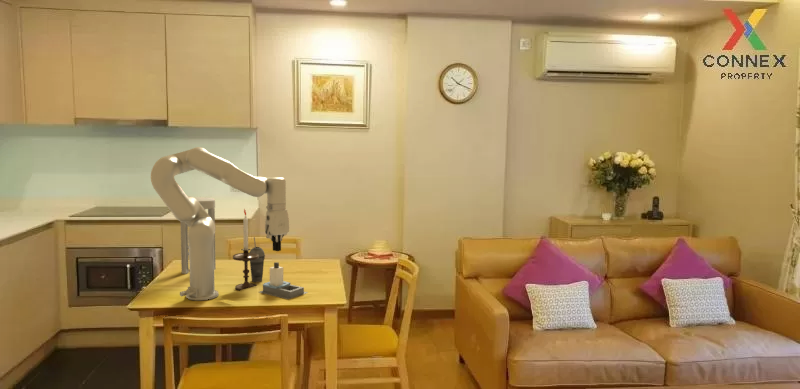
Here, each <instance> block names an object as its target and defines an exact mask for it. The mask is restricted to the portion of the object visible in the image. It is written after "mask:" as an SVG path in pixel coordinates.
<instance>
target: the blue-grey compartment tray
mask: <svg viewBox="0 0 800 389" xmlns="http://www.w3.org/2000/svg"><path fill="white" fill-rule="evenodd" d="M259 293H260V294H265V295H268V296H273V297H275V298H276V297H277V298H281V299H284V300H290V299H293V298H297V297H300V296H303V295H306V294H308V293H309V292H308V291H305V288H304V286H299V285H295V284H291V282H290V281H289V282H288V281H285V280H283V285H279V286H273V285H270V281H267V282H264V283H263V284H262V290H261V291H259Z"/></svg>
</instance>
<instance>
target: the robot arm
mask: <svg viewBox="0 0 800 389" xmlns="http://www.w3.org/2000/svg"><path fill="white" fill-rule="evenodd" d="M194 170H196V171H198V172H201V173H202V174H204V175H206V176H209V177H212V178H213V179H215V180H217V181H219V182H221V183H223V184H225V185H228V186H230V187H232V188H234V189H236V190H238V191H239V192H242V193H244V194H246V195H248V196H251V197H254V198H260V197H262V196H263V195H264V194H266V200H267V201H266V207H265V209H266V213H265V219H264V231H265V234H266V239H270V241H271V242H272V251H274V252H281V251H282V241H283V238H284V237H285V236H287V234H288V233H289V232H290V219H289V218H290V217H289V213H288V210H287V209H286V208H287V207H286V206H287V205H286V204H287V200H286V199H287V198H286V197H287V196H286V193H287V192H286V191H287V187H286V184H287V183H286V179H285V178H284V177H281V176H280V177H279V176H276V177H275V176H273V177H272V176H271V177H264V176H253V175H252V174H249V173H247V172H245V171H243V170H242V169H240V168H238V167H237V166H236V165H234V163H232V162H230V161H229V160H228V159H224V158H222V157H220V156H217V155H215V154H213V153H211V152H209V151H208V150H207V149H205V147H202V146H195V147H193V148H190V149H187V150H183V151H180V152H177V153H173V154H169V155H165V156H162V157H160V158H159V159H157V160H156V162H155V163H154V165H153V166H152V169H151V172H150V181H151V185H152V187H153V189H154V191H155V192H156V194H157V195H158V196H159V198H160V199H161V200H162V201H163V203H164V204H165V206H166V207H167V208H168V210H169V211H170V212H171V213H172V215H173V216H174V218H175V219H176V220H177V221H179V222H180V221H181V222H185V223H186V224H187V225H188V246H189V249H188V252H189V255H188V265H189V286H187V289H186V290H183V291H179V296H180V297H184V296H185V298H186V299H187V298H188V300H190V301H208V299H209V300H213V299H216V298H217V297H219V291H218V290H215V287H216V286H215V270H214V245H213V235H214V233H215V234H216V222H215V223H214V221H213V220H212V218H211V217H210V216H209V215H208V211H207V210H206V209H204V208H203V207H202V205H201V204H200V203H199V202H198V201H197V200H196V199H195V198H193V197H194V196H189V195H187V193H185V191H184V190H183V189H182V188H183V187H181V186H180V185H179V183H177V181H176V180H175V177H176V176H178V175H180V174H183V173H188V172H190V171H194Z"/></svg>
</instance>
